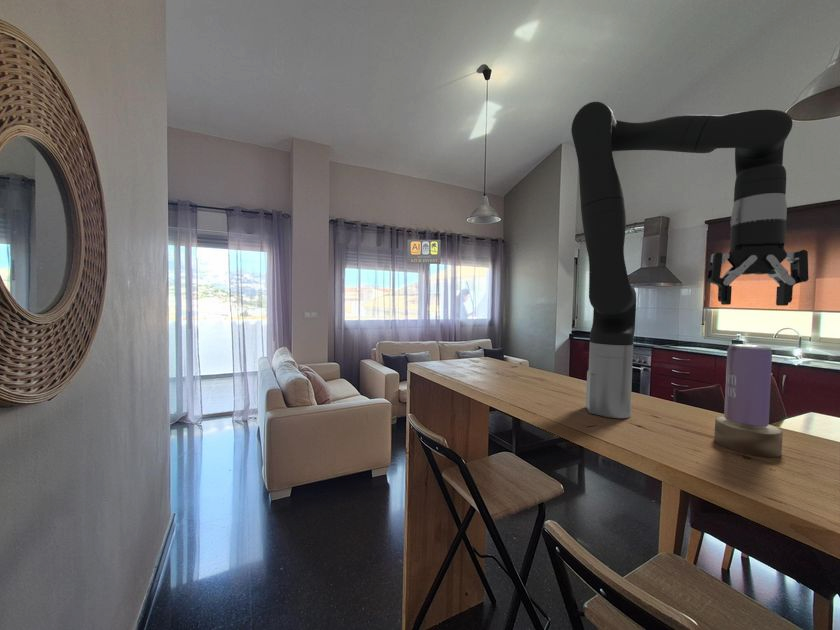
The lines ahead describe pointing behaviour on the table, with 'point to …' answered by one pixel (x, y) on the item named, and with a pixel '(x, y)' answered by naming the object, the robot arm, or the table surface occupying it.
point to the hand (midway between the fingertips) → (753, 305)
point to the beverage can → (748, 385)
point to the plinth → (749, 439)
